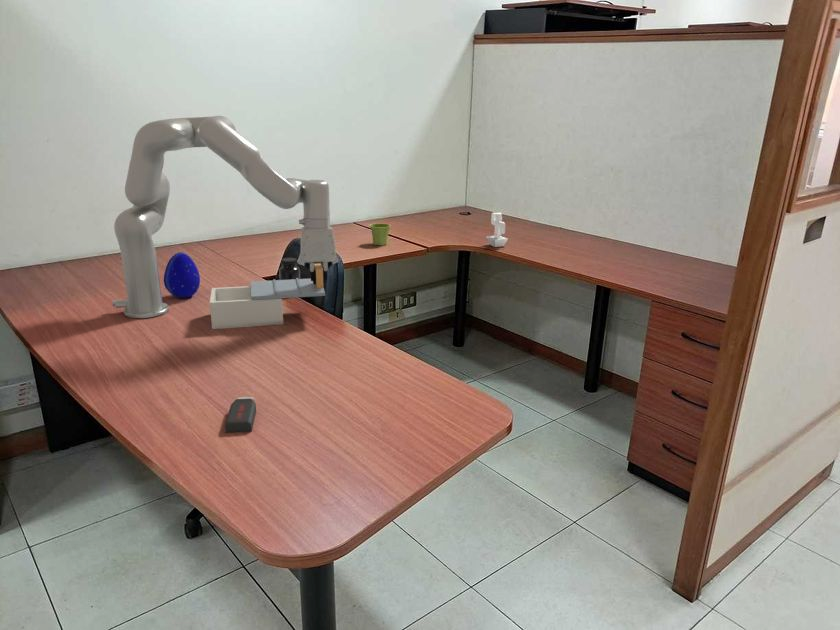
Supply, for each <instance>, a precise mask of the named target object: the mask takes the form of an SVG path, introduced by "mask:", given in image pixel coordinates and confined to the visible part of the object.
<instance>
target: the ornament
mask: <svg viewBox="0 0 840 630" xmlns="http://www.w3.org/2000/svg"><path fill="white" fill-rule="evenodd" d="M163 284H164V288H165V289H166V290H167V292H169V294H170V295H172V296H174V297H177V298H180V299H183V298H184V299H185V298H190V297H192V296H194V295H195V294H196V293H197V291H198V290H199V287H200V284H201V275H200V273H199V269H198V268H197V264H196V263H195V261H193V259H192V258H191V257H190V256H189V254H187V253H185V252H181V251H180V252H177V253H174V255H172V256H171V257H170V259H169V260H168V262H167V263H166V266H165V270H164V275H163Z"/></svg>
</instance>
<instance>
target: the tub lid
mask: <svg viewBox="0 0 840 630" xmlns="http://www.w3.org/2000/svg"><path fill="white" fill-rule="evenodd" d="M322 267H323V264H322V262H318V263H314V269H315V272H316V284H313V281H311V278H300V279H298V278H296V279H291V280H280V279H277V280H276V279H275V278H273V280H258V281H256V280H255V281H251V282H250V286H251V298H252V300H259V299H277V298H282V299H291V298H307V297H308V298H310V297H324V296H325V297H326V292H325V288H324V284H323V268H322Z"/></svg>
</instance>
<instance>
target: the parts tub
mask: <svg viewBox="0 0 840 630" xmlns="http://www.w3.org/2000/svg"><path fill="white" fill-rule="evenodd" d="M209 309H210V319H211V320H210V321H211V329H212V330H219V329H220V330H221V329H237V328H248V327H249V328H252V327H262V326H266V327H267V326H276V325H277V326H278V325H284V310H283V298H277V299H259V300H252V298H251V285H247V286H243V285H242V286H230V287H229V286H227V287H225V286H224V287H211V292H210V299H209Z"/></svg>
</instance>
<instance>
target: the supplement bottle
mask: <svg viewBox="0 0 840 630" xmlns="http://www.w3.org/2000/svg"><path fill="white" fill-rule="evenodd" d="M297 265H298V262H297V258H294V257H285V258H282V259H281V266H280V268H279V269H278V271H279V274H278V275H279V276H278V277H279V280H291V279H296V278H298V279H301V269H300V267H299V266H297Z"/></svg>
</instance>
